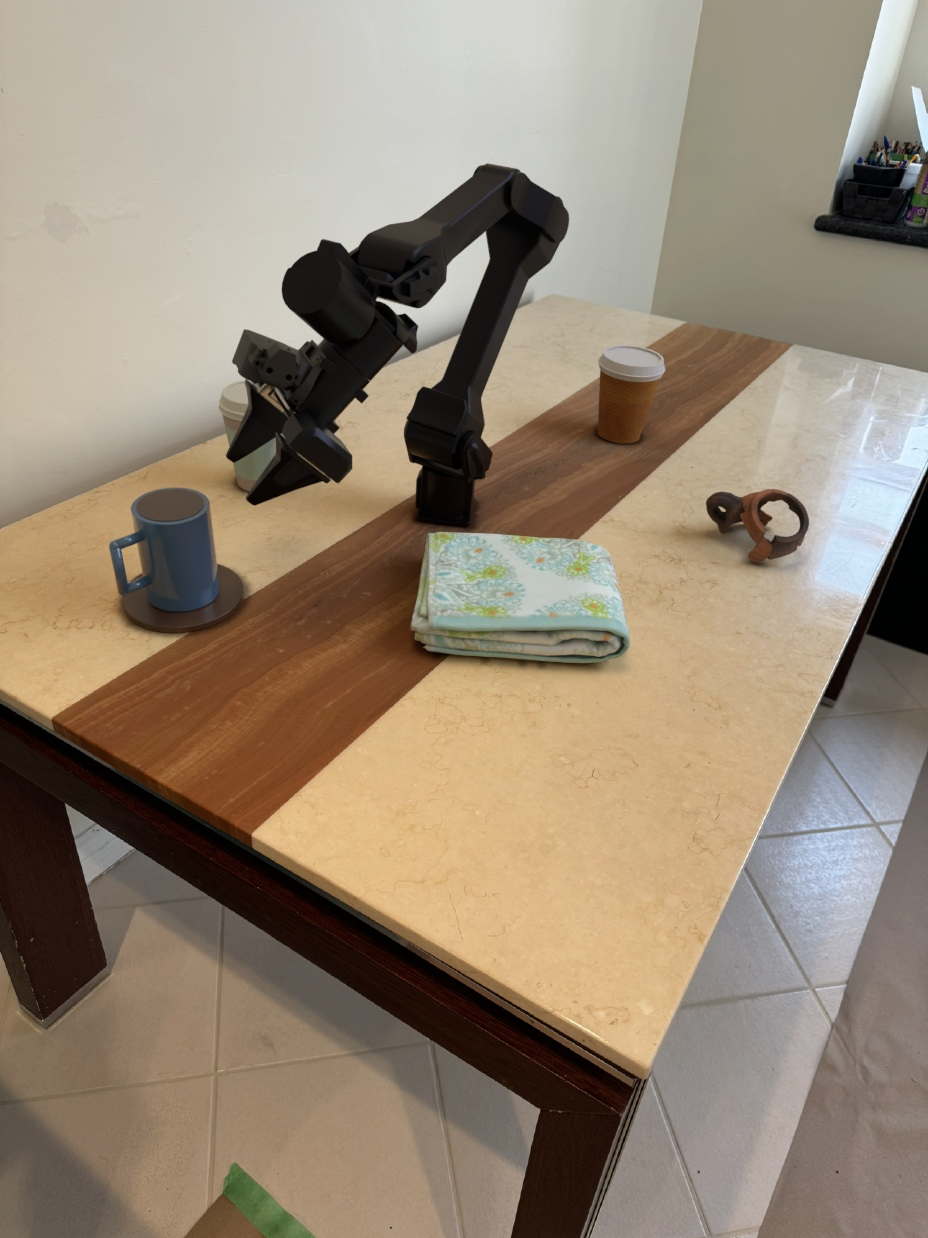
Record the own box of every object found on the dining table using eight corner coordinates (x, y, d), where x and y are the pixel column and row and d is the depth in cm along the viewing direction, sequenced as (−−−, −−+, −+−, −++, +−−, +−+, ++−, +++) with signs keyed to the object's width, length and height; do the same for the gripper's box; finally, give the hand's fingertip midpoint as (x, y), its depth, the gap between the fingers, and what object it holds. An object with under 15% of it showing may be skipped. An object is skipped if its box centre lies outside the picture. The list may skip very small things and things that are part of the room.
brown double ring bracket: (785, 530, 111) (821, 496, 103) (772, 592, 106) (809, 561, 99) (698, 494, 110) (728, 458, 103) (682, 555, 106) (712, 521, 99)
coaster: (259, 573, 94) (258, 567, 94) (221, 640, 85) (220, 634, 84) (151, 559, 95) (150, 554, 94) (101, 624, 85) (100, 618, 85)
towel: (421, 556, 99) (423, 517, 96) (607, 570, 99) (615, 531, 96) (408, 656, 84) (410, 614, 81) (626, 672, 85) (636, 631, 82)
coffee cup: (280, 502, 107) (275, 410, 100) (215, 492, 108) (204, 399, 101) (305, 472, 113) (301, 383, 106) (242, 462, 114) (234, 373, 107)
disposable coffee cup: (579, 439, 127) (591, 359, 120) (596, 416, 135) (609, 339, 128) (642, 454, 125) (659, 372, 118) (656, 429, 132) (673, 351, 125)
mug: (193, 564, 93) (181, 479, 87) (234, 592, 90) (224, 506, 84) (104, 602, 87) (85, 513, 81) (144, 634, 83) (127, 544, 77)
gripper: (260, 271, 83) (156, 392, 86) (313, 336, 70) (187, 477, 72) (341, 347, 91) (242, 456, 93) (403, 418, 77) (286, 544, 80)
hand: (239, 480), depth 85 cm, fingers open, 9 cm apart
